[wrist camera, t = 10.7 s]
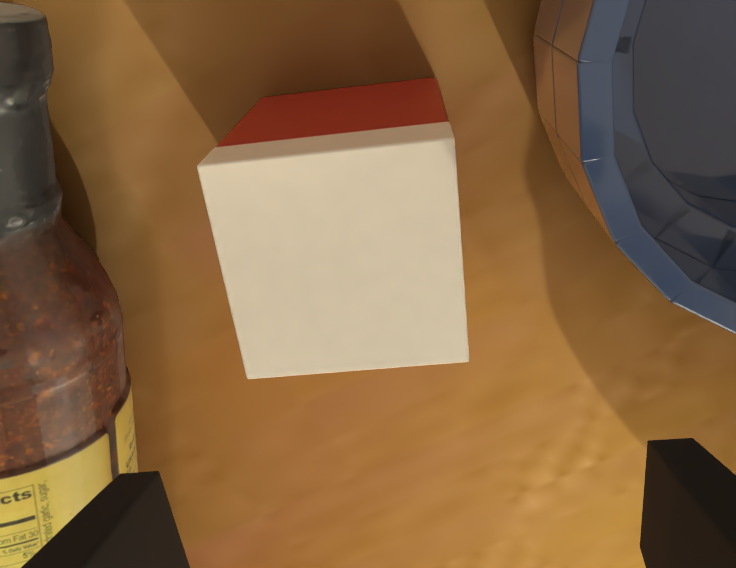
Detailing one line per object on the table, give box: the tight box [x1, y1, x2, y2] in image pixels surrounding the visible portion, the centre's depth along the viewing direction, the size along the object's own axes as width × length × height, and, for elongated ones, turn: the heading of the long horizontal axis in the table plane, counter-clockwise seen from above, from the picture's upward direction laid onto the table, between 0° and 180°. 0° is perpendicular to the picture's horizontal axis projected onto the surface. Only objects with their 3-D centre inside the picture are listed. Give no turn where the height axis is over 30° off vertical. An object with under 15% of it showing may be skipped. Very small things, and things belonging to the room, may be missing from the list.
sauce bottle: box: [0, 2, 138, 568], centre depth 18 cm, size 7×6×20 cm
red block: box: [197, 77, 469, 379], centre depth 15 cm, size 4×4×6 cm
